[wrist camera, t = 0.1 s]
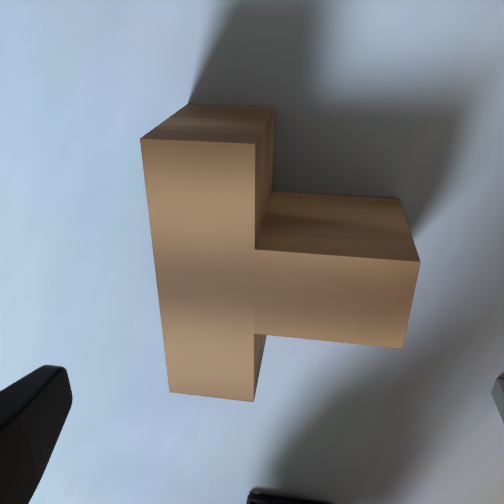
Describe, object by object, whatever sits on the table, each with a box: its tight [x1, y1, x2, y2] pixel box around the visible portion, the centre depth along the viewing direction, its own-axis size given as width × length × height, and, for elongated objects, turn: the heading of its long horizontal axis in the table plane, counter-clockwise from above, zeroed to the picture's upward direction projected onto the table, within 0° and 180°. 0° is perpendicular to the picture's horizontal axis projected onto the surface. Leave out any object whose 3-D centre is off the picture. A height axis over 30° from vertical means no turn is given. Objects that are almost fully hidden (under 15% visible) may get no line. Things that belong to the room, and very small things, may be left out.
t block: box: [140, 104, 420, 402], centre depth 21 cm, size 12×10×6 cm
